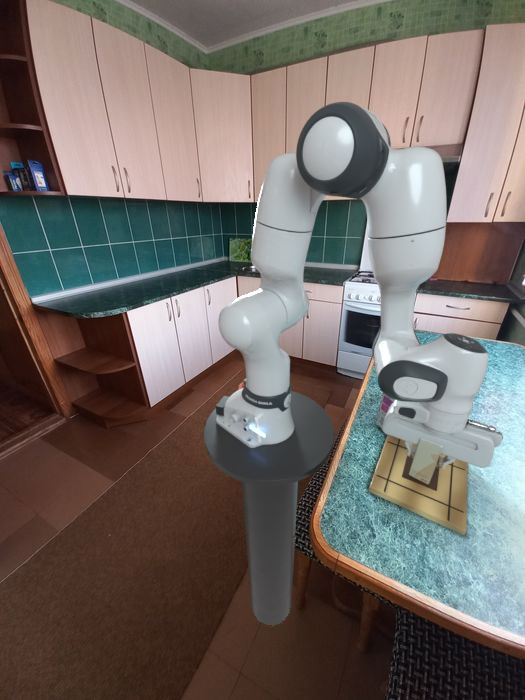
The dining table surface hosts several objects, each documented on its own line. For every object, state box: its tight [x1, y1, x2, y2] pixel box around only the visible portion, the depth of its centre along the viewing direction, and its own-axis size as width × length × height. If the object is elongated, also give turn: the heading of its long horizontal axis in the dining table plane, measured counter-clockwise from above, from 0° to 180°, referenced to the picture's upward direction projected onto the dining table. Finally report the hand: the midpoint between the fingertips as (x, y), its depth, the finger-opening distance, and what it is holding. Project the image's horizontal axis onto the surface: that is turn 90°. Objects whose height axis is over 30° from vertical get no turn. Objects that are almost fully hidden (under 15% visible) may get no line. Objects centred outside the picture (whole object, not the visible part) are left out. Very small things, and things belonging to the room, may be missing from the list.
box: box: [409, 438, 443, 484], centre depth 64 cm, size 5×4×11 cm
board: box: [368, 435, 468, 536], centre depth 67 cm, size 18×20×2 cm
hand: (425, 460), depth 65 cm, fingers closed on box, 4 cm apart
